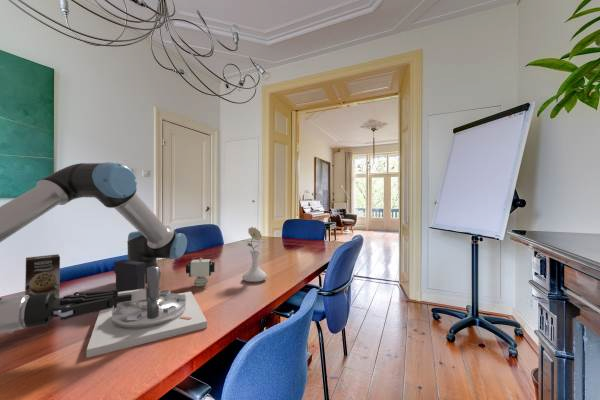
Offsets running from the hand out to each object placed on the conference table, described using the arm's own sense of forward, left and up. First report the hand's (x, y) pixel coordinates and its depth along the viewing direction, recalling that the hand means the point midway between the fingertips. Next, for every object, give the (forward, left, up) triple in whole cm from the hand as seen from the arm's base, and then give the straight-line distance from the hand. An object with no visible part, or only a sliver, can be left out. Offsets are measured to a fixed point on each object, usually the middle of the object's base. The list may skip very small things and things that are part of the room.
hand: (146, 293), depth 72 cm
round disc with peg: (-10, +2, -10) cm, 14 cm away
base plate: (-10, +2, -12) cm, 16 cm away
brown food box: (-49, -32, -12) cm, 60 cm away
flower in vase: (-31, +45, -12) cm, 56 cm away
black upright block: (-29, -4, -12) cm, 32 cm away
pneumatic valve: (-36, +22, -12) cm, 44 cm away
